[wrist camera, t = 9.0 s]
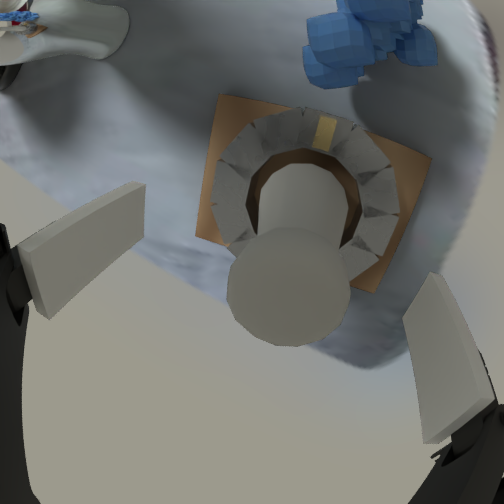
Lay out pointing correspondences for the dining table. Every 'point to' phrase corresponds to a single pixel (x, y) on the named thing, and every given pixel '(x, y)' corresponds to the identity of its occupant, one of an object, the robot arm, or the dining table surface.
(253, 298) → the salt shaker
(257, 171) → the grey segmented ring
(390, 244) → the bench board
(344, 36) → the grapes
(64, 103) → the dining table surface
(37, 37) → the beer glass
